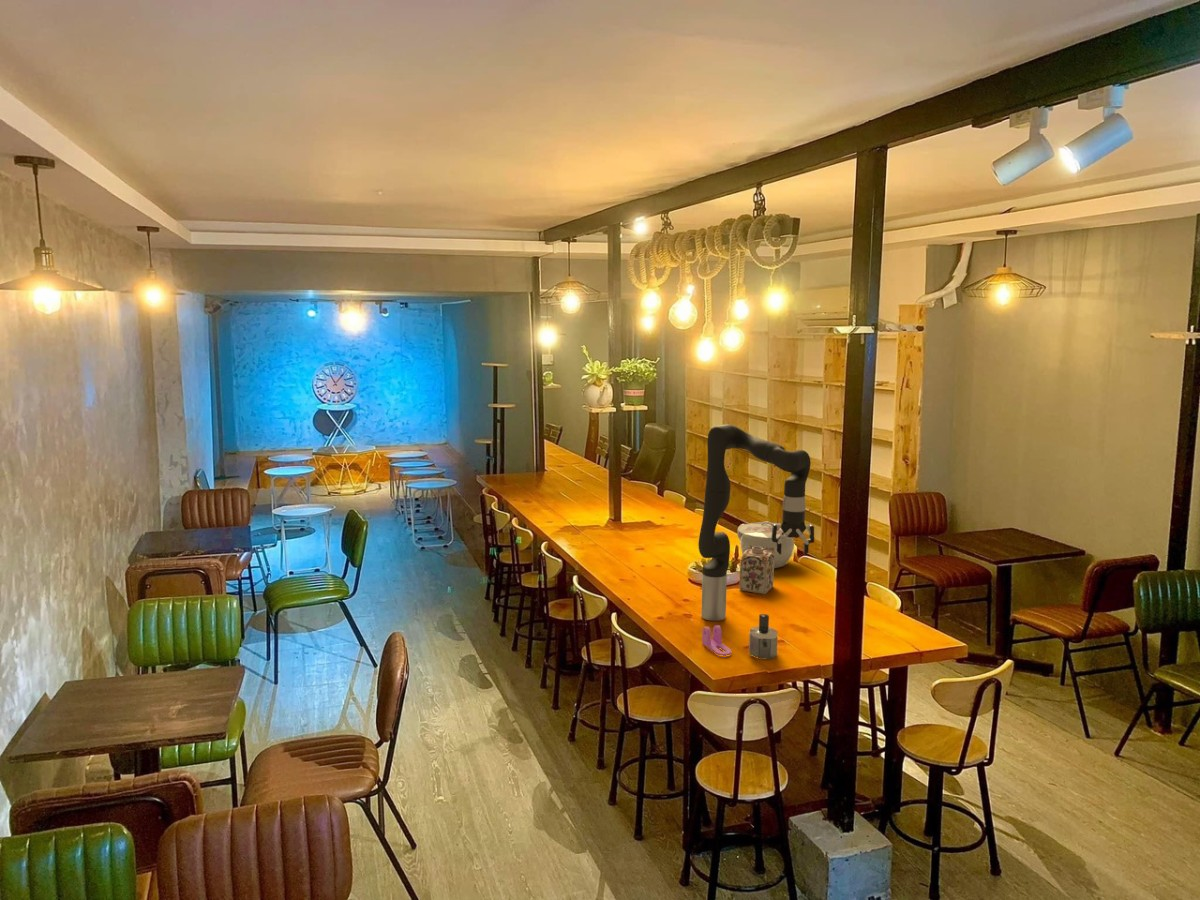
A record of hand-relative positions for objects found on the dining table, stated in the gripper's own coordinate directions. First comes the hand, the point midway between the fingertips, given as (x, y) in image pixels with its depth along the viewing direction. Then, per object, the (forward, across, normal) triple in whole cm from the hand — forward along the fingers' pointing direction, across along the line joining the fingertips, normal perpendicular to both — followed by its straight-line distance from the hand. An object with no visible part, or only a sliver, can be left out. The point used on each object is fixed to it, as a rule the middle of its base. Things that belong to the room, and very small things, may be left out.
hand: (792, 553), depth 287 cm
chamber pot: (+33, -3, -95) cm, 101 cm away
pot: (+33, +10, +9) cm, 36 cm away
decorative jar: (+33, +5, -60) cm, 69 cm away
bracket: (+34, +25, +7) cm, 42 cm away
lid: (+26, +10, +9) cm, 29 cm away
